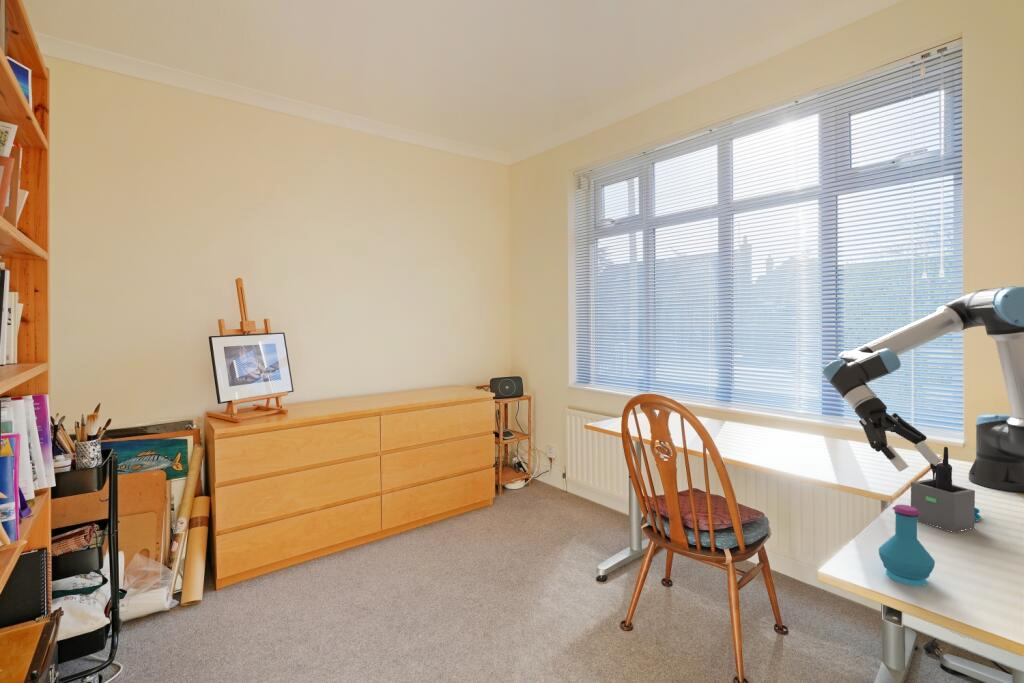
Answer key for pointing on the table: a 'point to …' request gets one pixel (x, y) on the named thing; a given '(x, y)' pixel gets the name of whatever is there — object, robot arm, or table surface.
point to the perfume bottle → (906, 550)
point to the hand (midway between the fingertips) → (920, 466)
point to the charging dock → (944, 505)
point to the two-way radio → (942, 473)
